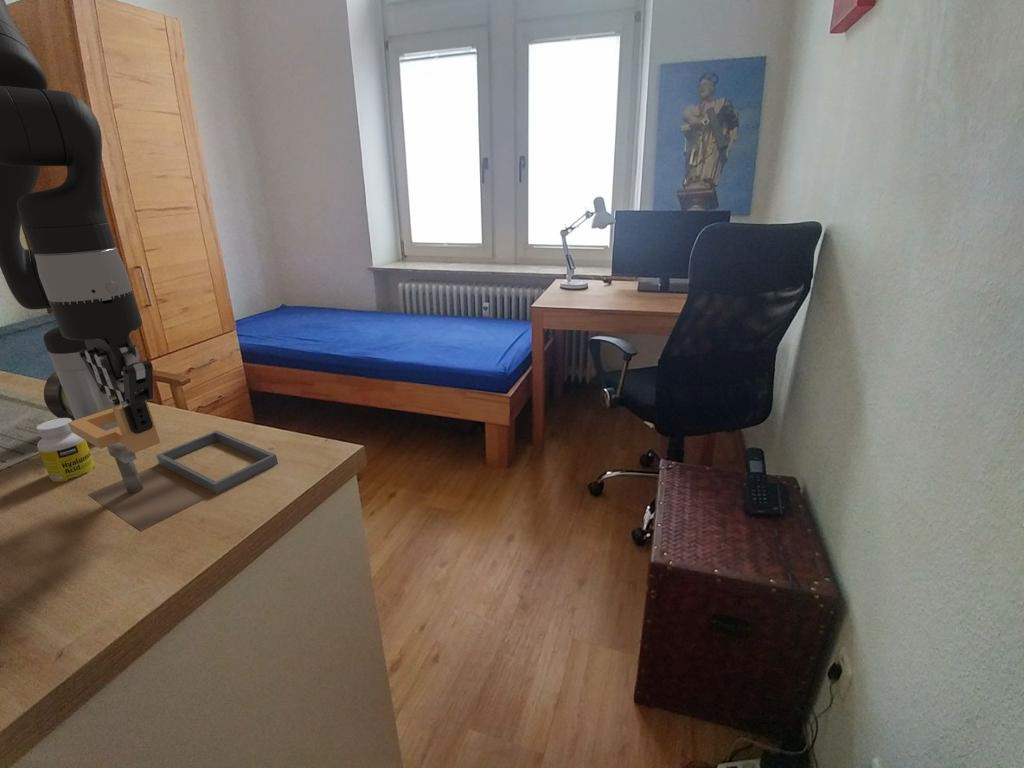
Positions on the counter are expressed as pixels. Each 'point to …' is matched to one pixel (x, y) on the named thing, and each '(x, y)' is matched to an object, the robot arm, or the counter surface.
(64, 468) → the supplement bottle
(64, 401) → the alarm clock
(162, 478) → the board
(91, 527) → the counter surface
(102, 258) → the robot arm
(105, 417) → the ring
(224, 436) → the tray
